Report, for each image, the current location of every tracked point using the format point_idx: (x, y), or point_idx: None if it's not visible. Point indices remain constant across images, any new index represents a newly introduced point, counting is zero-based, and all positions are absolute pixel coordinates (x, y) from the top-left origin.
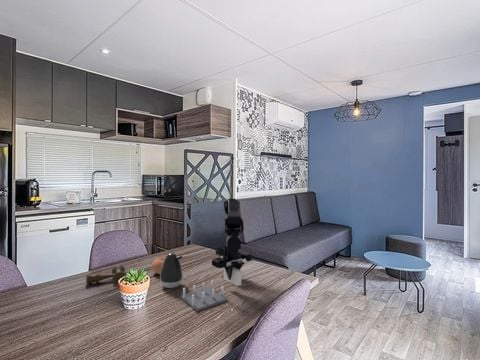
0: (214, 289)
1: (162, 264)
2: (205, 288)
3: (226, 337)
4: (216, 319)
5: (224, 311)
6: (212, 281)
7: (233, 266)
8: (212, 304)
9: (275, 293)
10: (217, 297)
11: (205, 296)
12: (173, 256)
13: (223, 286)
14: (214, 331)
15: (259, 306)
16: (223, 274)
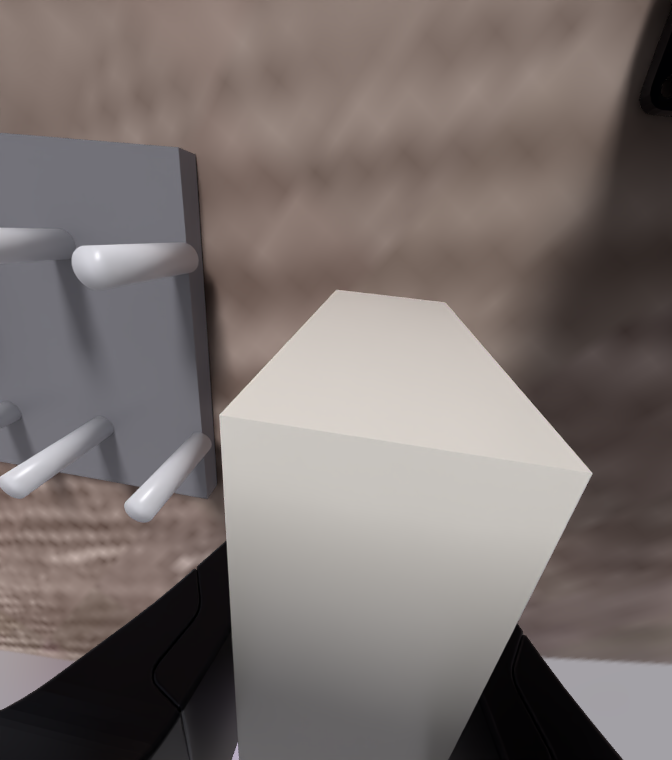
0: (23, 496)
1: None
2: (117, 161)
3: (52, 649)
4: (57, 563)
5: (131, 548)
6: (89, 280)
7: (500, 754)
8: (75, 470)
9: (611, 654)
10: (145, 434)
11: (53, 343)
12: None
13: (146, 518)
14: (18, 605)
15: None
16: (322, 309)
